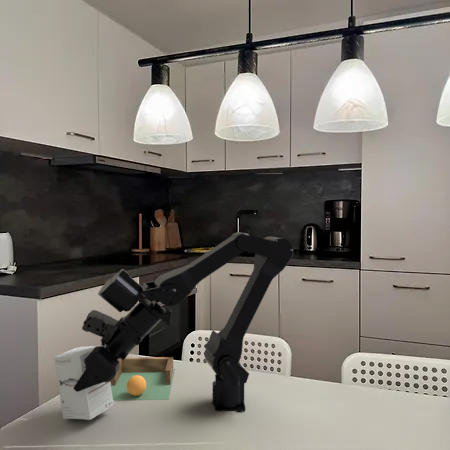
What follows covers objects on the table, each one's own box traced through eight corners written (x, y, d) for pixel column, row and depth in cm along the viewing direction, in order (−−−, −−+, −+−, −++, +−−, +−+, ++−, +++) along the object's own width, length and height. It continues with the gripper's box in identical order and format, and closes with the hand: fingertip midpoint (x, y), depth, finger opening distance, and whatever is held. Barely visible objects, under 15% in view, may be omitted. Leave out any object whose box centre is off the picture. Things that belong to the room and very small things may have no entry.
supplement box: (62, 420, 84) (52, 357, 85) (88, 404, 91) (79, 345, 91) (89, 421, 81) (79, 355, 82) (115, 404, 88) (105, 344, 88)
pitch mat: (174, 370, 113) (174, 368, 112) (168, 400, 95) (168, 399, 95) (119, 370, 112) (119, 369, 112) (103, 401, 94) (102, 400, 94)
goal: (173, 370, 112) (173, 357, 111) (170, 384, 102) (170, 370, 102) (118, 370, 111) (118, 357, 111) (110, 385, 102) (110, 371, 102)
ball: (147, 390, 99) (147, 372, 99) (144, 399, 95) (144, 379, 94) (128, 390, 99) (128, 372, 99) (125, 399, 94) (124, 380, 94)
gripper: (117, 289, 95) (68, 338, 95) (95, 309, 76) (34, 370, 76) (152, 323, 96) (104, 372, 96) (139, 351, 77) (79, 412, 77)
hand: (82, 379), depth 86 cm, fingers closed on supplement box, 9 cm apart
